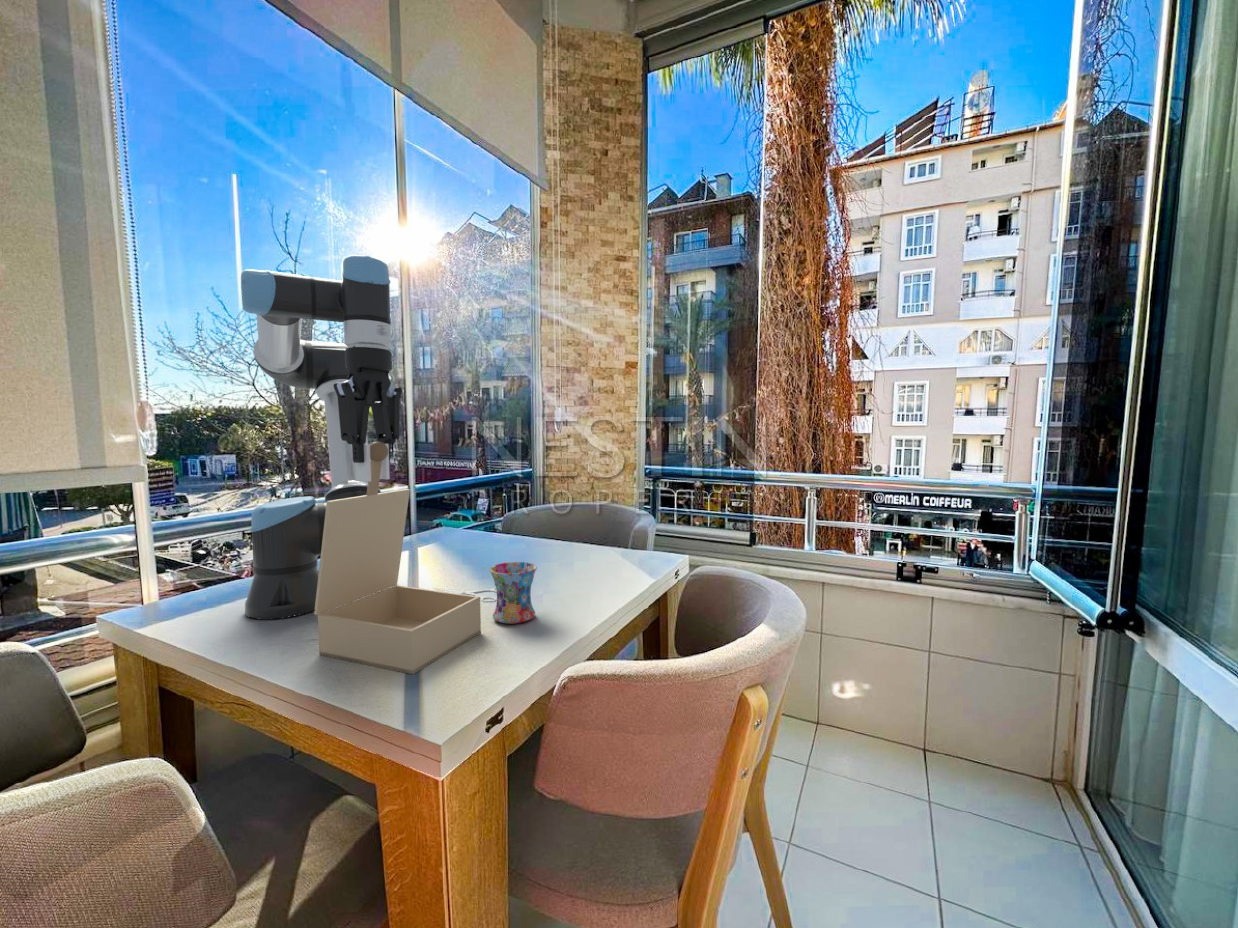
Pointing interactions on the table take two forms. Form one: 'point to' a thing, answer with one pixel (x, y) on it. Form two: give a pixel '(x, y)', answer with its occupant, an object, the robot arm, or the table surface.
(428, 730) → the table surface
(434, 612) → the box
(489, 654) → the table surface
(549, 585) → the table surface
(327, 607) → the lid
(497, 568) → the mug
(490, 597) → the scissors
